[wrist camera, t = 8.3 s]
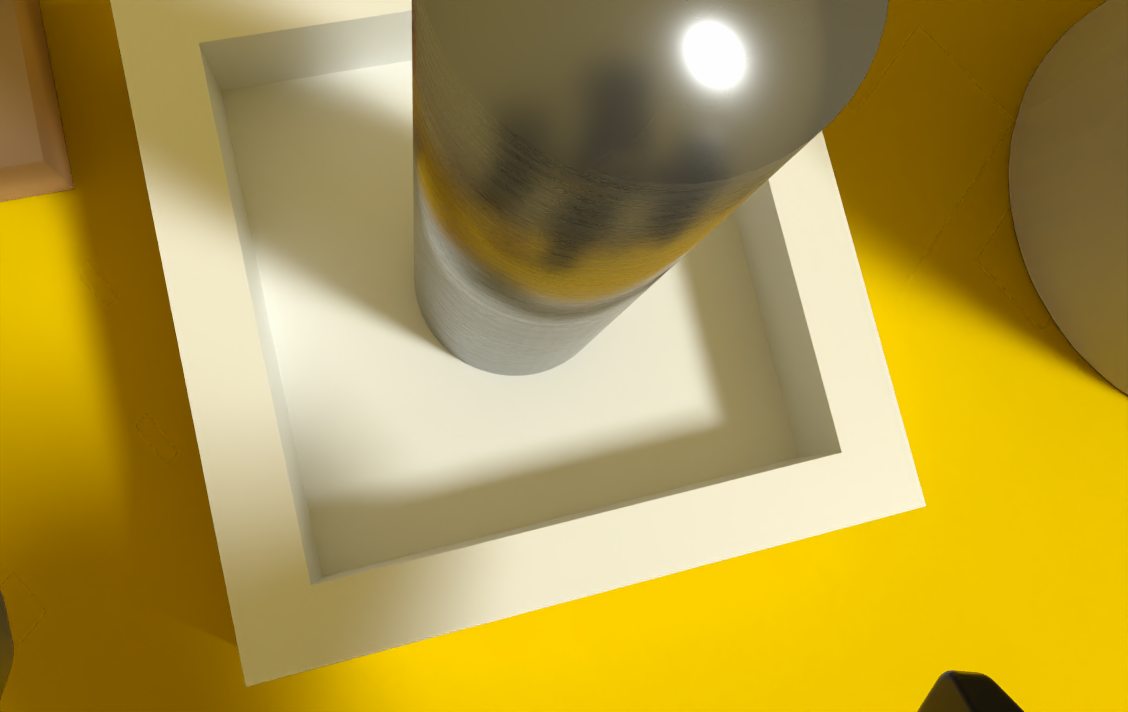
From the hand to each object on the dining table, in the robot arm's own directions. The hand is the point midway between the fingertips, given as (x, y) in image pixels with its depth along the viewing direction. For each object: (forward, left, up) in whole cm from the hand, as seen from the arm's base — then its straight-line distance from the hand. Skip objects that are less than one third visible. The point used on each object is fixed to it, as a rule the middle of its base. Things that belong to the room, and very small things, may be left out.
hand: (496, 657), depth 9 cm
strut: (+5, -2, -8) cm, 10 cm away
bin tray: (+5, -2, -8) cm, 10 cm away
